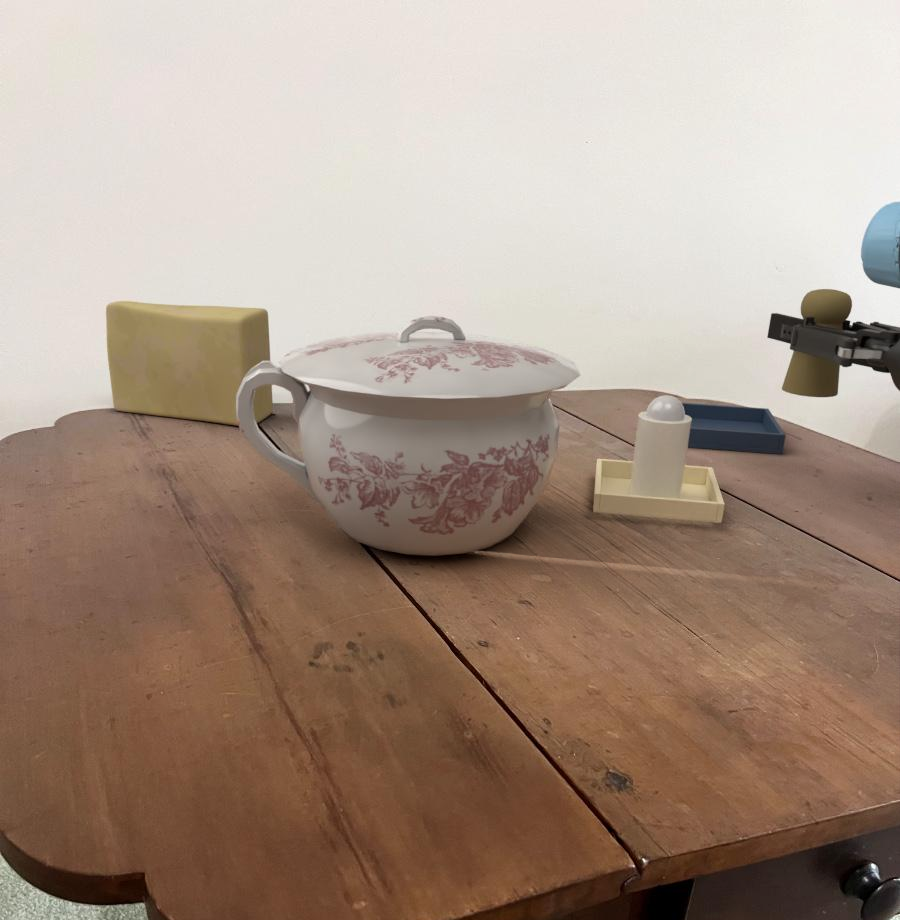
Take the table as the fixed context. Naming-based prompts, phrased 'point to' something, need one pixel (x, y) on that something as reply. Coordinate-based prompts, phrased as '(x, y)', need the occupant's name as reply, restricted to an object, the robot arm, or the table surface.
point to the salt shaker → (660, 449)
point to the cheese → (185, 359)
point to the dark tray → (734, 428)
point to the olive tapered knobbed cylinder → (808, 370)
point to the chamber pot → (418, 433)
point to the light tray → (695, 502)
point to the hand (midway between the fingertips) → (789, 325)
